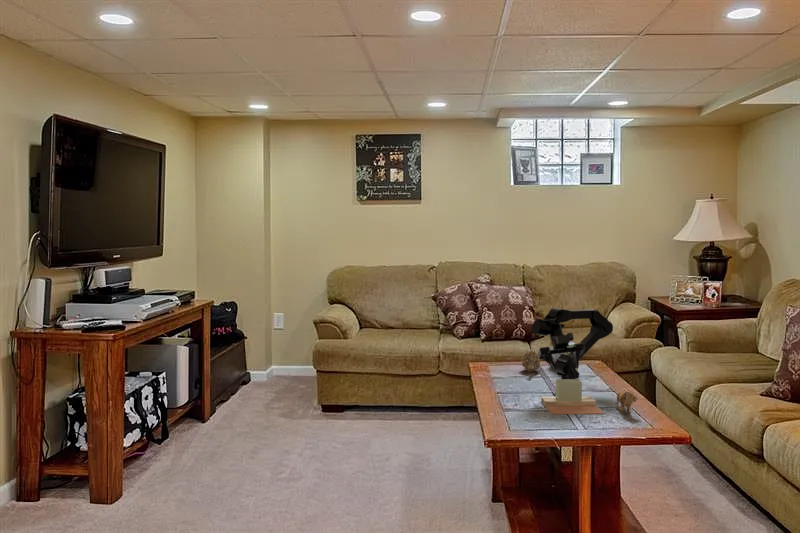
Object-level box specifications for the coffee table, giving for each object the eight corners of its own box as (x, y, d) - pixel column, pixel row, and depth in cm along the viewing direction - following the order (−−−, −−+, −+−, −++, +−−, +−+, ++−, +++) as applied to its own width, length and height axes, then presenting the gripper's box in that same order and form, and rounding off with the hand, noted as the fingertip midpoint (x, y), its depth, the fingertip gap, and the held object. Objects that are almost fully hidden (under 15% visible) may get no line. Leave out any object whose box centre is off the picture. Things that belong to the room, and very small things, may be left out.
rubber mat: (545, 406, 240) (545, 406, 240) (596, 406, 240) (596, 405, 240) (551, 414, 231) (551, 413, 231) (604, 413, 231) (604, 413, 231)
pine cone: (519, 367, 308) (520, 348, 308) (539, 368, 307) (539, 348, 306) (522, 378, 286) (522, 357, 286) (543, 378, 285) (543, 357, 284)
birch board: (541, 401, 248) (541, 396, 248) (590, 401, 248) (590, 396, 247) (545, 406, 241) (545, 401, 241) (595, 406, 241) (595, 401, 240)
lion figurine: (638, 416, 227) (639, 392, 227) (625, 417, 227) (625, 393, 226) (621, 405, 242) (621, 382, 241) (608, 405, 241) (608, 383, 241)
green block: (555, 397, 246) (555, 379, 246) (578, 397, 246) (578, 379, 246) (558, 401, 241) (559, 382, 241) (581, 400, 241) (581, 382, 241)
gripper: (538, 329, 251) (547, 362, 241) (582, 324, 252) (593, 357, 242) (534, 342, 260) (543, 375, 250) (577, 337, 260) (587, 370, 251)
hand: (566, 369), depth 248 cm, fingers open, 9 cm apart
